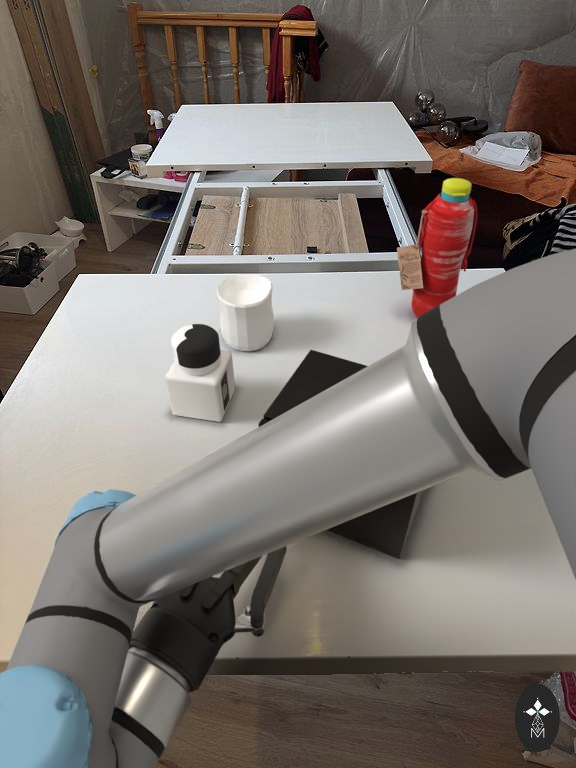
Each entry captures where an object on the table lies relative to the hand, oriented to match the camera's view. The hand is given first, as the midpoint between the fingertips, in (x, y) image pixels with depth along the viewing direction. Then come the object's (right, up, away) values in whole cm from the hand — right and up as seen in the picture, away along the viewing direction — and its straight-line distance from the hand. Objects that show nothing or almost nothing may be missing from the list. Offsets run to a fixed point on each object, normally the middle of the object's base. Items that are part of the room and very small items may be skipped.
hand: (278, 475), depth 62 cm
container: (-12, +8, +20) cm, 25 cm away
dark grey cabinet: (+9, -3, +8) cm, 13 cm away
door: (+5, -9, +1) cm, 10 cm away
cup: (-6, +19, +33) cm, 38 cm away
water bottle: (+26, +23, +37) cm, 51 cm away
